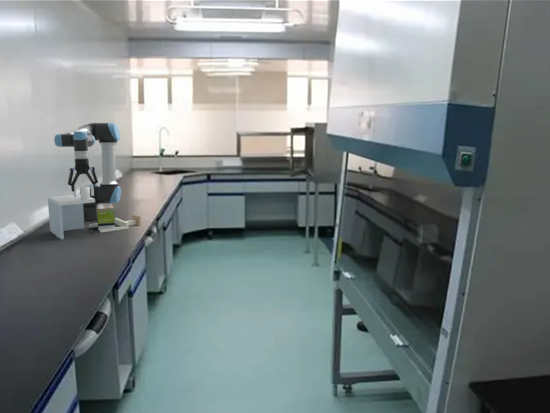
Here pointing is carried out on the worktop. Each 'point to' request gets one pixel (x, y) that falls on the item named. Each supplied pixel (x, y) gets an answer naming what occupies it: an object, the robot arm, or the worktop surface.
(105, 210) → the tea box
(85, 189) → the white rounded capsule
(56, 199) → the panel
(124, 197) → the worktop surface
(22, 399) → the worktop surface
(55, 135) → the robot arm
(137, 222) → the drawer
